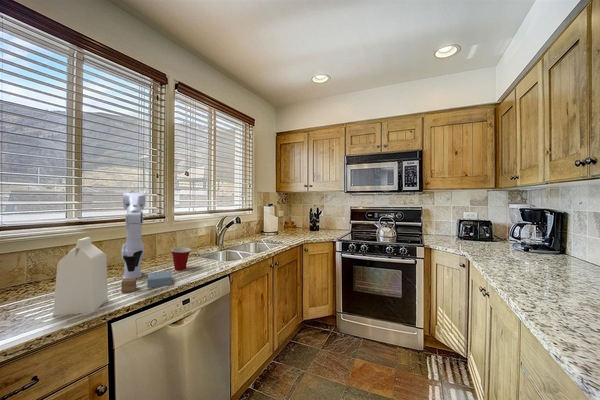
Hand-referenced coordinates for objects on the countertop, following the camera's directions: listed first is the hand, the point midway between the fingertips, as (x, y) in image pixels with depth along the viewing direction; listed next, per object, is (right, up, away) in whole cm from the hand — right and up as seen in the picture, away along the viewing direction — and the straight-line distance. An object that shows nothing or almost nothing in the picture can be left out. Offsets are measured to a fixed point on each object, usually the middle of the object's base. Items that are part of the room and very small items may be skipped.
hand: (133, 269), depth 111 cm
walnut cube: (-2, -10, 0) cm, 10 cm away
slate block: (+6, -10, +10) cm, 16 cm away
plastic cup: (+5, -10, +33) cm, 35 cm away
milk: (-7, -10, -17) cm, 21 cm away
